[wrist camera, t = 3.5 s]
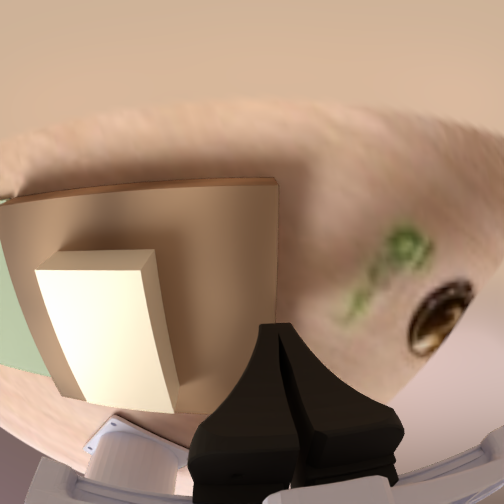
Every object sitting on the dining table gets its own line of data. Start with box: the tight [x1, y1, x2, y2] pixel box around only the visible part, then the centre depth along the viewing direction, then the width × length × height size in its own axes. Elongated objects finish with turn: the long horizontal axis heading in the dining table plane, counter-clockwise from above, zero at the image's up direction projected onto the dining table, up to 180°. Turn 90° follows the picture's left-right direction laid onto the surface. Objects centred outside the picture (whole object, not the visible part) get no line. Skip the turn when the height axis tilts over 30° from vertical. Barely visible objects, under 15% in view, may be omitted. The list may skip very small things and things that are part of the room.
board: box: [0, 177, 279, 414], centre depth 15 cm, size 14×13×2 cm
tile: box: [35, 249, 180, 414], centre depth 13 cm, size 5×8×2 cm, turn 0°
